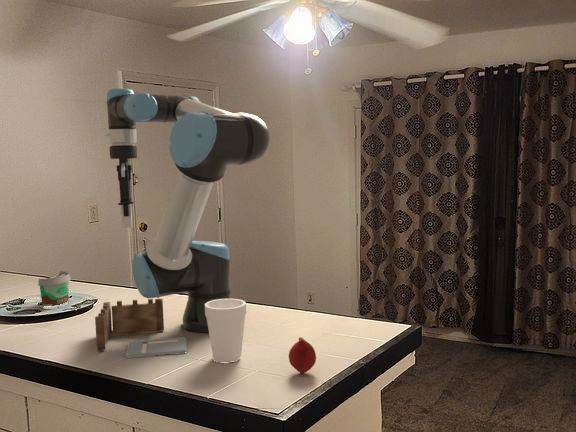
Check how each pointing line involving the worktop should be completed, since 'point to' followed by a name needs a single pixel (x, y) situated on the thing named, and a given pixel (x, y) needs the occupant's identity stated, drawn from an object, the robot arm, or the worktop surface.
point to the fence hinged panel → (102, 328)
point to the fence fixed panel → (136, 318)
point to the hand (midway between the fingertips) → (127, 227)
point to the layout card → (156, 347)
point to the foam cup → (226, 328)
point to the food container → (54, 289)
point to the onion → (302, 356)
